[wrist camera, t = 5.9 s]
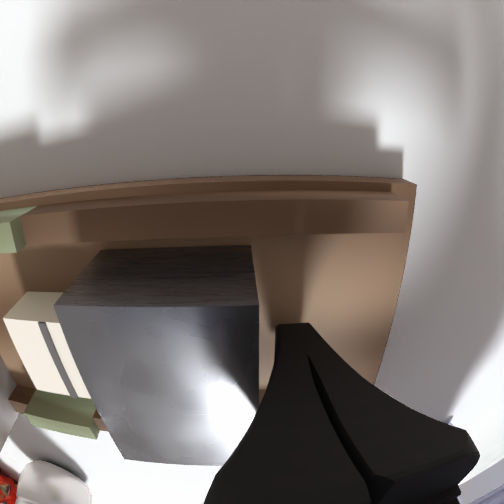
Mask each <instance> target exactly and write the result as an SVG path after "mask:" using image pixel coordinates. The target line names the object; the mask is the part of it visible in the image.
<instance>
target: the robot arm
mask: <svg viewBox="0 0 504 504" xmlns="http://www.w3.org/2000/svg"><path fill="white" fill-rule="evenodd" d="M479 457H480V454H479V451H478V450H477V448H476V446H475V444H474V442H473V441H472V439H471V437H470V436H469V434H468V433H467V431H466V430H464V429H461V428H457V427H454V426H453V425H452V423H448V424H446V423H443V422H440V421H437V420H435V419H432V418H430V417H428V416H426V415H423V414H421V413H419V412H417V411H415V410H413V409H411V408H409V407H407V406H405V405H404V404H402V403H400V402H398V401H397V400H395V399H393V398H392V397H390V396H388V395H387V394H385V393H384V392H382V391H381V390H380V389H378V388H377V387H375V386H374V385H373V384H371V383H370V382H368V381H367V380H366V379H365V378H363V377H362V376H361V375H360V374H359V373H358V372H356V371H355V370H354V369H353V368H352V367H351V366H350V365H349V364H348V363H347V362H345V361H344V360H343V359H342V358H341V357H340V356H339V355H338V354H337V353H336V352H335V351H334V350H333V348H332V347H331V346H330V345H329V344H328V343H327V342H326V341H325V340H324V339H323V338H322V336H321V335H320V334H319V333H318V332H317V331H316V330H315V328H314V327H313V326H312V325H311V324H310V323H309V322H307V323H291V324H279V325H277V326H276V328H275V352H274V365H273V369H272V372H271V375H270V379H269V382H268V385H267V388H266V391H265V393H264V396H263V398H262V401H261V403H260V406H259V408H258V410H257V412H256V414H255V416H254V418H253V420H252V422H251V424H250V426H249V428H248V429H247V431H246V433H245V434H244V436H243V437H242V439H241V441H240V442H239V444H238V445H237V447H236V449H235V450H234V452H233V453H232V454H231V456H230V457H229V458H228V460H227V461H226V462H225V464H224V465H223V466H222V468H221V469H220V470H219V471H218V473H217V474H216V475H215V478H214V480H213V482H212V485H211V487H210V489H209V491H208V494H207V496H206V499H205V501H204V504H464V503H463V501H462V499H461V496H460V495H461V491H460V489H459V486H458V484H459V483H460V482H461V481H462V480H463V479H464V477H465V476H466V475H467V474H468V473H469V472H470V471H471V470H472V469H473V468H474V467H475V465H476V464H477V462H478V460H479ZM0 504H3V503H0ZM469 504H504V484H503V485H501V486H499V487H498V488H496V489H494V490H492V491H491V492H489V493H487V494H485V495H484V496H482V497H480V498H478V499H476V500H474V501H473V502H471V503H469Z"/></svg>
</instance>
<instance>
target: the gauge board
mask: <svg viewBox="0 0 504 504" xmlns="http://www.w3.org/2000/svg"><path fill="white" fill-rule="evenodd" d="M416 187H417V185H416V184H414V183H412V182H409V181H407V180H404V179H396V178H379V177H357V176H323V175H251V176H216V177H194V178H176V179H161V180H147V181H135V182H124V183H113V184H103V185H94V186H85V187H77V188H68V189H61V190H53V191H46V192H39V193H33V194H26V195H20V196H14V197H8V198H2V199H0V452H1V450H2V448H3V445H4V443H5V441H6V439H7V437H8V435H9V433H10V431H11V429H12V427H13V425H14V423H15V421H16V419H17V417H18V415H19V413H22V414H25V416H26V417H27V419H28V420H29V422H30V423H31V425H33V426H37V427H41V428H44V429H48V430H53V431H57V432H61V433H66V434H70V435H75V436H80V437H85V438H91V439H97V437H98V434H99V431H100V430H102V431H108V430H107V428H106V426H105V424H104V422H103V421H102V419H101V417H100V415H99V413H98V411H97V409H96V407H95V405H94V403H93V401H92V399H89V398H82V397H78V399H76V398H71V396H69V395H63V394H57V393H52V392H46V391H41V390H37V389H36V387H35V385H34V383H33V381H32V380H31V378H30V376H29V374H28V372H27V370H26V368H25V366H24V364H23V362H22V360H21V358H20V356H19V354H18V352H17V350H16V348H15V345H14V343H13V341H12V339H11V337H10V334H9V332H8V330H7V327H6V325H5V322H4V320H3V317H4V316H5V315H6V314H7V313H8V312H9V311H10V310H11V308H12V307H13V306H14V305H15V304H16V303H17V302H18V301H19V300H20V299H21V298H22V297H23V296H24V295H25V294H26V293H27V292H28V291H29V292H64V291H65V290H66V289H67V288H68V287H69V286H70V284H71V283H72V282H73V281H74V280H75V279H76V277H77V276H78V275H79V274H80V273H81V272H82V270H83V269H84V268H85V267H86V266H87V265H88V264H89V263H90V261H91V260H92V259H93V258H94V257H95V256H96V255H97V254H98V253H99V251H100V250H113V249H140V248H169V247H199V246H230V245H251V250H252V257H253V264H254V271H255V278H256V285H257V293H258V300H259V406H260V403H261V401H262V398H263V396H264V393H265V391H266V388H267V385H268V382H269V379H270V375H271V372H272V369H273V365H274V352H275V328H276V326H277V325H279V324H291V323H307V322H309V323H310V324H311V325H312V326H313V327H314V328H315V330H316V331H317V332H318V333H319V334H320V335H321V336H322V338H323V339H324V340H325V341H326V342H327V343H328V344H329V345H330V346H331V347H332V348H333V350H334V351H335V352H336V353H337V354H338V355H339V356H340V357H341V358H342V359H343V360H344V361H345V362H347V363H348V364H349V365H350V366H351V367H352V368H353V369H354V370H355V371H356V372H358V373H359V374H360V375H361V376H362V377H363V378H365V379H366V380H367V381H368V382H370V383H371V384H373V385H374V383H375V380H376V377H377V374H378V371H379V367H380V364H381V361H382V358H383V354H384V351H385V347H386V344H387V340H388V336H389V333H390V329H391V325H392V321H393V317H394V313H395V309H396V305H397V301H398V296H399V292H400V287H401V283H402V278H403V273H404V268H405V263H406V257H407V252H408V246H409V240H410V234H411V227H412V220H413V213H414V205H415V197H416Z"/></svg>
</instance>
